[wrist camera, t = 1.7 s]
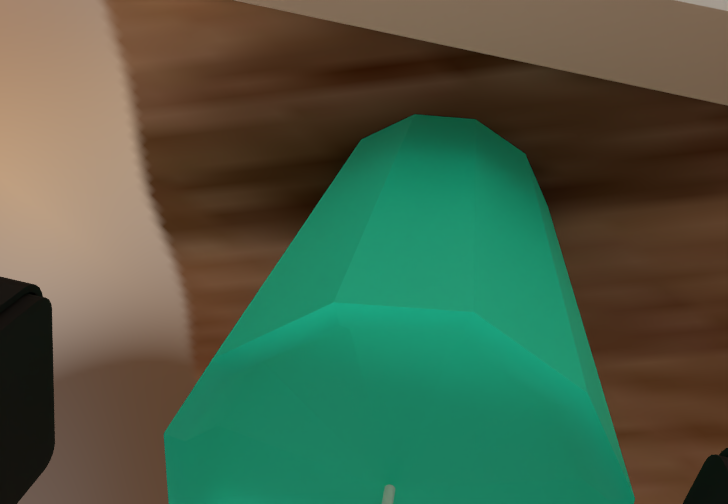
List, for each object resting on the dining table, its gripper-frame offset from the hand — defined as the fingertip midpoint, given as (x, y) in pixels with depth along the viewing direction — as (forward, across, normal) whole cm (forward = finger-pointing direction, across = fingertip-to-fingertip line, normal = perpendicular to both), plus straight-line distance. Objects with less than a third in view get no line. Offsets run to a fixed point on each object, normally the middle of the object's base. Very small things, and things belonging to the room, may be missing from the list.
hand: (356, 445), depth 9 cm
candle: (+10, -1, 0) cm, 10 cm away
